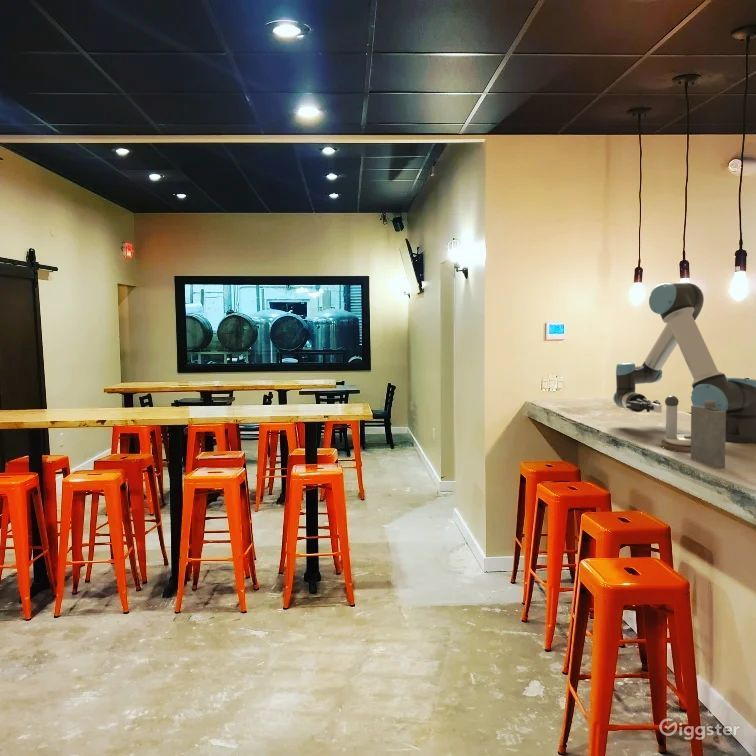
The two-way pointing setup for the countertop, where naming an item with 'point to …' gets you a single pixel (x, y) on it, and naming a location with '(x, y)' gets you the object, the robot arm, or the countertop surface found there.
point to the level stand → (675, 447)
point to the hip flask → (708, 434)
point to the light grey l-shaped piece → (674, 424)
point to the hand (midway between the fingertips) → (659, 408)
